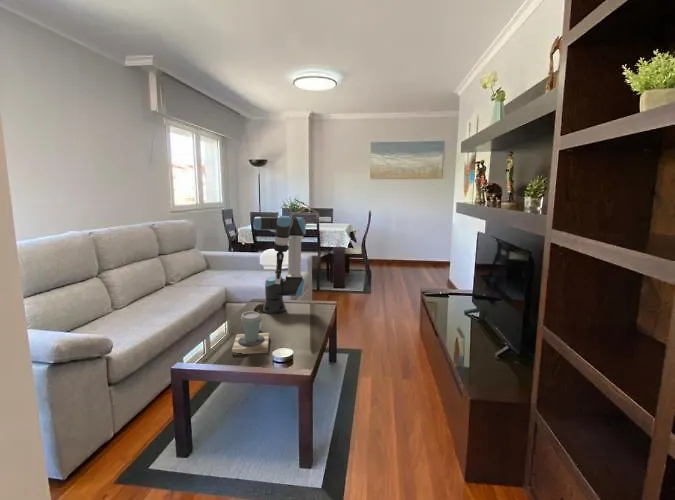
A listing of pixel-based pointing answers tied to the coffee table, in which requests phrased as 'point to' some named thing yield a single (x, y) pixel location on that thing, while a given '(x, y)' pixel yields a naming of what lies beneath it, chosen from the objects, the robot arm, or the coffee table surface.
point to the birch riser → (251, 344)
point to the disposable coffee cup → (251, 325)
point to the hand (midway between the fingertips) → (277, 279)
